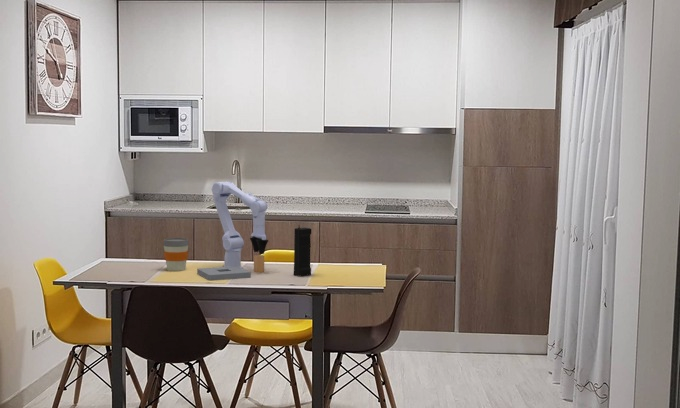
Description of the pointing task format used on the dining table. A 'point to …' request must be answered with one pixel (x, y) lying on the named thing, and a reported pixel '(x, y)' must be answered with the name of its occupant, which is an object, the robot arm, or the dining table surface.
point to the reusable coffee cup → (176, 253)
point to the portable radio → (302, 252)
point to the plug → (258, 263)
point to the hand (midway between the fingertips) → (258, 252)
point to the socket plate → (223, 273)
